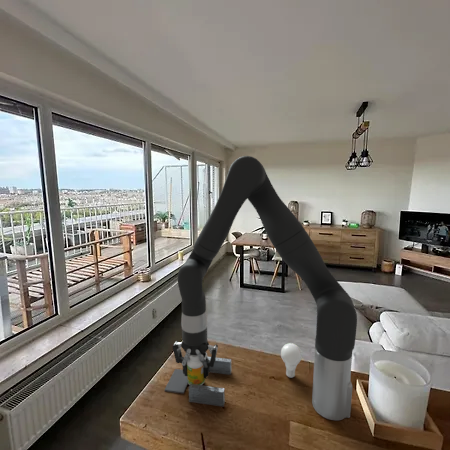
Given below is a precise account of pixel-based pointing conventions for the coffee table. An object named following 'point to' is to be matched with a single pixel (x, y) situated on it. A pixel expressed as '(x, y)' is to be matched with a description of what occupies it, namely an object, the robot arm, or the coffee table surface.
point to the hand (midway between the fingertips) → (196, 375)
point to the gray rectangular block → (177, 382)
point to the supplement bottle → (195, 370)
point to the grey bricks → (211, 393)
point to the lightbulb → (291, 358)
